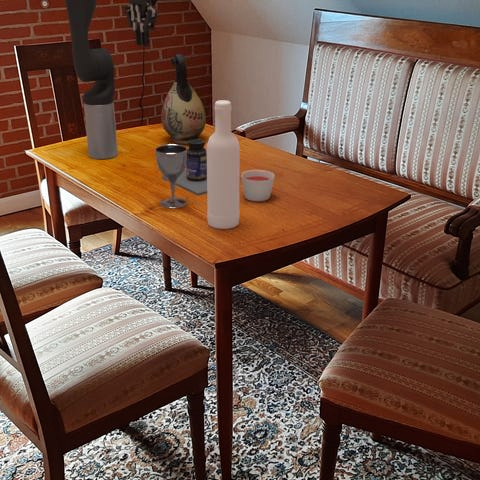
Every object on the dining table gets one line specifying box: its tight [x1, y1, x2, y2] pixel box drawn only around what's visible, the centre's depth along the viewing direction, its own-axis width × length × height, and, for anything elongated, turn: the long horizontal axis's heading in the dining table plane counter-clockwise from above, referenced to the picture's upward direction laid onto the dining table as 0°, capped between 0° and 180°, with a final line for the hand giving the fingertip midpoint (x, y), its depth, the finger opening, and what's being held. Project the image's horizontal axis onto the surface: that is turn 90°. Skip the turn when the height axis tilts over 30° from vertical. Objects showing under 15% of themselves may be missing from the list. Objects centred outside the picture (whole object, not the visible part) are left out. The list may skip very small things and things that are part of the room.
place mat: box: [161, 169, 207, 196], centre depth 180 cm, size 18×12×1 cm, turn 39°
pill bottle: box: [185, 138, 207, 181], centre depth 179 cm, size 6×6×11 cm
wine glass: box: [155, 143, 188, 209], centre depth 162 cm, size 8×8×15 cm
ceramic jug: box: [160, 53, 207, 145], centre depth 211 cm, size 17×15×30 cm
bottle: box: [206, 99, 241, 230], centre depth 147 cm, size 8×8×30 cm
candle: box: [240, 169, 275, 202], centre depth 168 cm, size 9×9×6 cm
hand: (142, 45), depth 170 cm, fingers closed
